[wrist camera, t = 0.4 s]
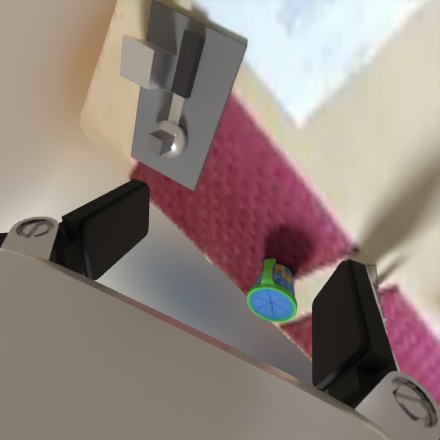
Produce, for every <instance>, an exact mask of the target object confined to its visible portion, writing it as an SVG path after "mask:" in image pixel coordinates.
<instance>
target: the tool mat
mask: <svg viewBox="0 0 440 440" xmlns="http://www.w3.org/2000/svg"><path fill="white" fill-rule="evenodd" d="M184 29H185V30H188V31H190V32H192V33H194V34H196V35H198V36H200V37H202V38H204V39H206V40H205V44H204V47H203V51H202V55H201V59H200V62H199V66H198V70H197V74H196V78H195V81H194V85H193V89H192V93H191V96H190V98H188V102H187V105H186V109H185V113H184V117H183V121H182V126H183V127H184V128H185V130H186V132H187V136H188V145H187V148H186V150H185V151H184V152H183V153H181V154H179V155H178V156H176V157H173V158H167V157H164V156H162V155H161V156H158V155H156V154H154V153H152V152H150V151H148V150H147V149H145V148H146V143H147V137H148V133H151V132H152V129H153V127H154V126H155V124H157V123H158V122H160V121H164V120H168V117H169V113H170V108H171V104H172V99H173V95H174V93H173V92H171V89H172V84H173V80H174V75H175V70H176V66H177V61H178V56H179V52H180V47H181V42H182V38H183V33H184ZM147 41H150V42H152V43H154V44H156V45H158V46H160V47H162V48H164V49H166V50H168V51H170V52H172V53H174V54H176V55H177V60H176V64H175V69H174V74H173V79H172V83H171V88H170V89H153V90H148V89H146V88H144V87H142V86H140V93H139V100H138V108H137V115H136V122H135V129H134V137H133V144H132V151H131V157H133V158H135V159H137V160H138V161H140V162H142V163H144V164H146V165H147V166H149V167H151V168H153V169H155V170H156V171H158V172H160V173H162V174H164V175H166V176H167V177H169V178H171V179H173V180H175V181H176V182H178V183H180V184H182V185H184V186H186V187H187V188H189V189H191V190H193V191H194V190H195V189H196V186H197V183H198V180H199V178H200V175H201V172H202V169H203V167H204V164H205V161H206V158H207V156H208V153H209V150H210V147H211V145H212V142H213V139H214V136H215V134H216V131H217V128H218V125H219V123H220V120H221V117H222V114H223V112H224V109H225V106H226V103H227V101H228V98H229V95H230V92H231V90H232V87H233V84H234V81H235V78H236V76H237V73H238V70H239V67H240V65H241V62H242V59H243V56H244V54H245V51H246V48H247V46H245V45H243V44H241V43H239V42H237V41H235V40H233V39H231V38H229V37H227V36H225V35H223V34H220V33H218V32H216V31H214V30H212V29H210V28H208V27H206V26H204V25H202V24H200V23H198V22H196V21H194V20H192V19H190V18H188V17H186V16H184V15H182V14H180V13H178V12H176V11H174V10H172V9H170V8H168V7H166V6H164V5H161V4H159V3H157V2H155V1H153V0H152V5H151V13H150V20H149V27H148V35H147Z"/></svg>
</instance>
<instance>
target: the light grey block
mask: <svg viewBox="0 0 440 440" xmlns="http://www.w3.org/2000/svg"><path fill="white" fill-rule="evenodd" d="M176 60H177V55H176V54H174V53H172V52H170V51H168V50H166V49H164V48H162V47H160V46H158V45H156V44H154V43H152V42H150V41H146V40H142V39H138V38H134V37H131V36H127V35H123V42H122V54H121V65H120V75H121V76H123V77H125V78H127V79H129V80H130V81H132V82H134V83H136V84H138V85H140V86H142V87H144V88H146V89H148V90H153V89H170V88H171V83H172V79H173V74H174V69H175V64H176Z"/></svg>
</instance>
